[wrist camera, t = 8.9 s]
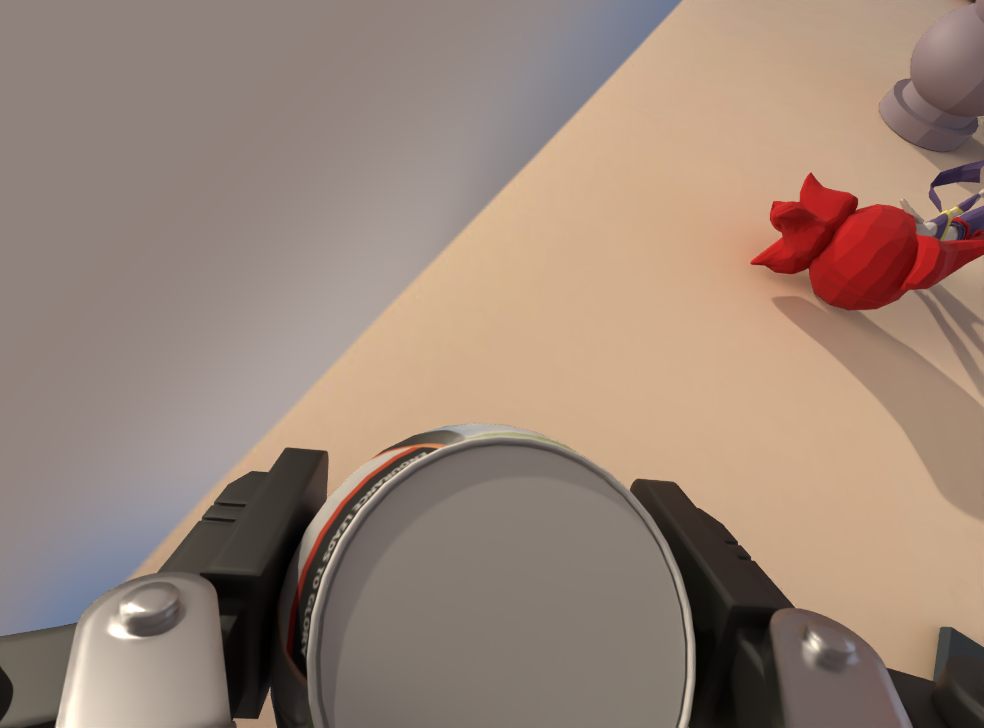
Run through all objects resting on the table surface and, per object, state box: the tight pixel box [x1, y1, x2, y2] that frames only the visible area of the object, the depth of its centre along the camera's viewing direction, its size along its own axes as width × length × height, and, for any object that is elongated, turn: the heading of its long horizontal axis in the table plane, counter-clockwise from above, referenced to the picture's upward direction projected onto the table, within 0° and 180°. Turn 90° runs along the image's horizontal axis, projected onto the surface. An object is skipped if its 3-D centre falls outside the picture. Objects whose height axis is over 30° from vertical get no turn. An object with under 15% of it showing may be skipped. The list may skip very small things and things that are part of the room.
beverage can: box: [270, 423, 696, 728], centre depth 11 cm, size 6×7×12 cm
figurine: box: [751, 161, 984, 310], centre depth 28 cm, size 6×8×15 cm
